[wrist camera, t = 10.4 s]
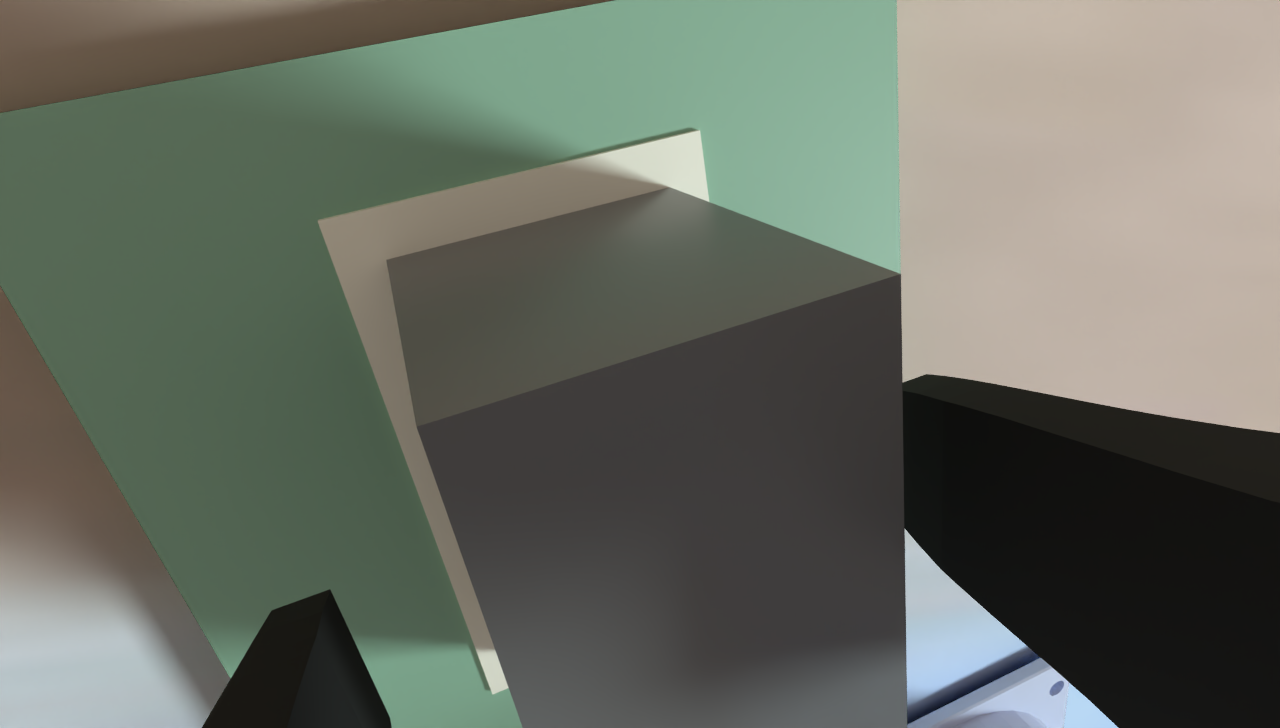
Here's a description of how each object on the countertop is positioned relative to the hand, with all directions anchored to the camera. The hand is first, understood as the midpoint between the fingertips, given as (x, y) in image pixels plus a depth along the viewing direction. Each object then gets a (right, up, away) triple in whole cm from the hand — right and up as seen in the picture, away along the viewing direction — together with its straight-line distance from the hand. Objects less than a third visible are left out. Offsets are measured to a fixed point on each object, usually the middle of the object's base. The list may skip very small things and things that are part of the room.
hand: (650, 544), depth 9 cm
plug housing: (-1, +1, +2) cm, 3 cm away
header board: (-1, +1, +4) cm, 4 cm away
